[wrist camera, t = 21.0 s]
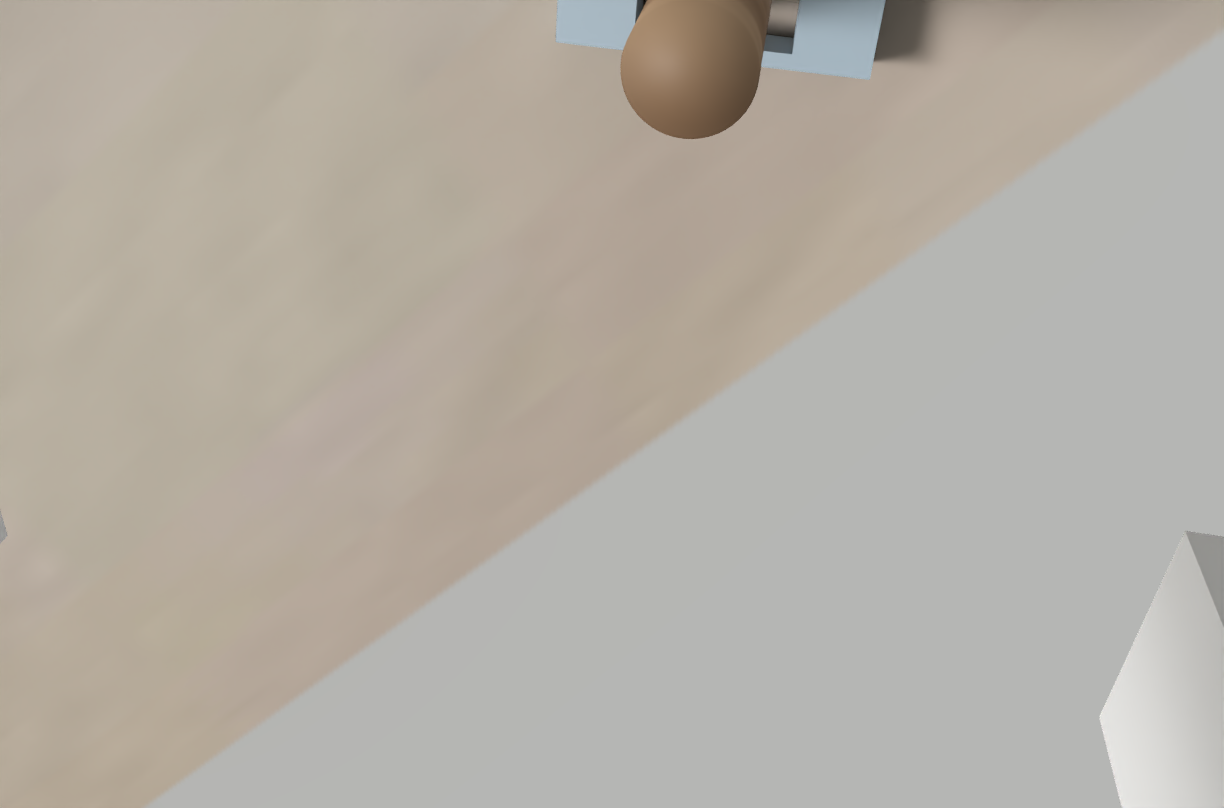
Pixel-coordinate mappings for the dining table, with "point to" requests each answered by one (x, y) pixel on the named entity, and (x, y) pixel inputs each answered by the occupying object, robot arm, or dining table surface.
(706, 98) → the peg
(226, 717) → the dining table surface
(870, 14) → the socket board
